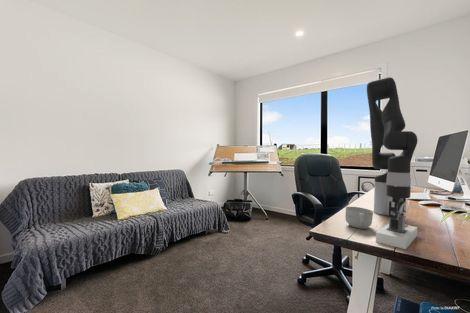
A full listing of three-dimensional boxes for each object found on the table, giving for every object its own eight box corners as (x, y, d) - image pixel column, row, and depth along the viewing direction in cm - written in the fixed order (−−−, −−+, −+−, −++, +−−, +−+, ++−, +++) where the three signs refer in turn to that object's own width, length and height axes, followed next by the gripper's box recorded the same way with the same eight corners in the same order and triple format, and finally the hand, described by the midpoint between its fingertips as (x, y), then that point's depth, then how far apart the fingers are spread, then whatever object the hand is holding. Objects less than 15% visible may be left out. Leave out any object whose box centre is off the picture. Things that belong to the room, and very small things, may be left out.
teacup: (346, 221, 112) (346, 204, 111) (373, 225, 106) (373, 208, 106) (342, 229, 100) (343, 210, 99) (372, 234, 94) (373, 214, 94)
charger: (391, 236, 92) (392, 208, 92) (404, 239, 89) (405, 210, 89) (388, 239, 89) (389, 210, 89) (402, 242, 86) (402, 212, 86)
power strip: (390, 230, 100) (390, 220, 100) (417, 235, 94) (417, 225, 93) (375, 241, 86) (376, 230, 86) (405, 249, 80) (405, 237, 80)
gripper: (391, 181, 96) (390, 221, 97) (381, 184, 87) (380, 228, 87) (414, 183, 91) (413, 225, 91) (406, 187, 81) (404, 233, 82)
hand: (397, 226), depth 89 cm, fingers open, 8 cm apart
